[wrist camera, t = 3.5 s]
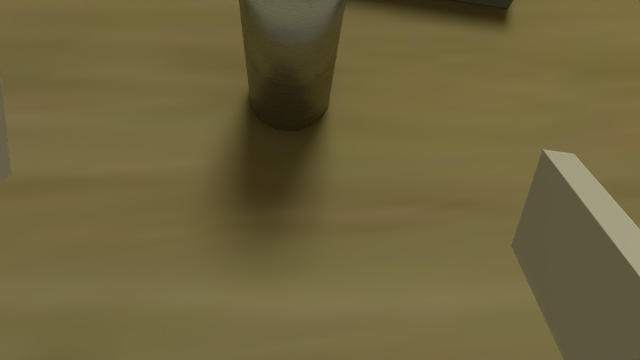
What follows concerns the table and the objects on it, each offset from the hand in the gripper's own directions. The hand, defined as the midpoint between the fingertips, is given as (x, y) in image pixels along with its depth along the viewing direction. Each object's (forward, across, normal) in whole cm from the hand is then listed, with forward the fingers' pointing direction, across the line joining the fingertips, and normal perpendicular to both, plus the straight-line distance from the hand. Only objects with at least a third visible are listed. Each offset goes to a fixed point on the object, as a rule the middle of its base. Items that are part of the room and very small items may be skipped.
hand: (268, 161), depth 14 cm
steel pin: (+15, -1, -3) cm, 16 cm away
